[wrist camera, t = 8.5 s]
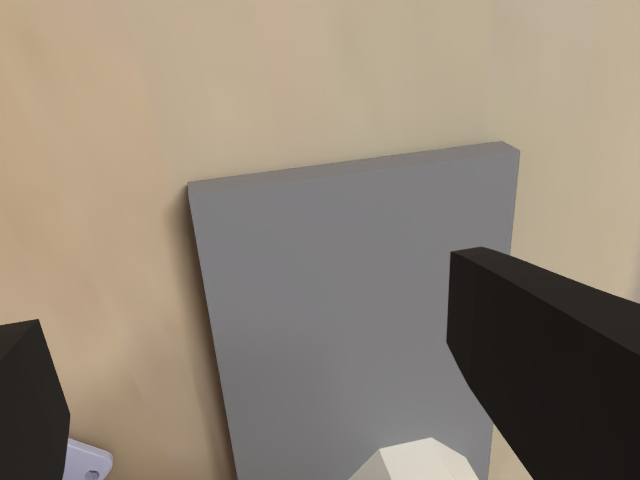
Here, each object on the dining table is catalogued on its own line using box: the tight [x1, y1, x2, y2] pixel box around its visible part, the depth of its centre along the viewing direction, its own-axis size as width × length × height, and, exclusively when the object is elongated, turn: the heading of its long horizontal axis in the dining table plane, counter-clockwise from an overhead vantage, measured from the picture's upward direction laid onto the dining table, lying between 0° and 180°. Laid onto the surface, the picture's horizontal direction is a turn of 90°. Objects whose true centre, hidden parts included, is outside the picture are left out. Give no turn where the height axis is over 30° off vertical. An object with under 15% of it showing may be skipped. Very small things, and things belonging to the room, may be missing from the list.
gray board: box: [188, 141, 520, 480], centre depth 23 cm, size 20×11×1 cm, turn 4°
